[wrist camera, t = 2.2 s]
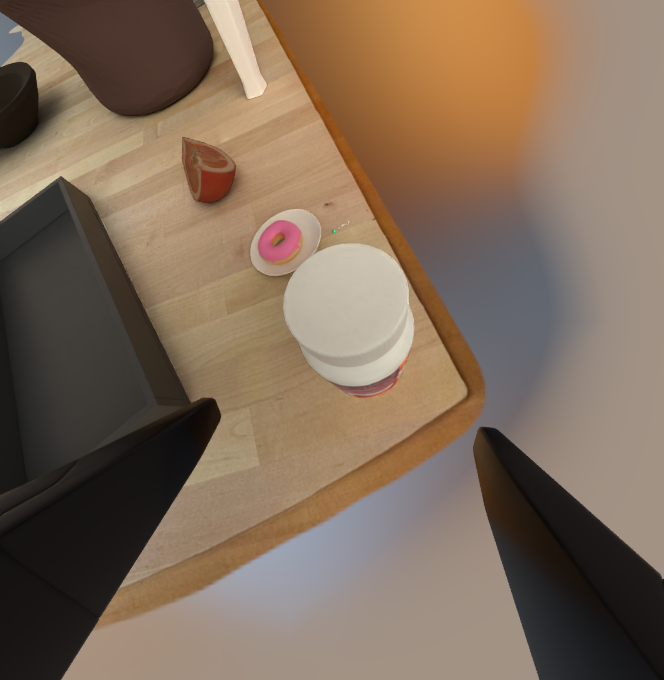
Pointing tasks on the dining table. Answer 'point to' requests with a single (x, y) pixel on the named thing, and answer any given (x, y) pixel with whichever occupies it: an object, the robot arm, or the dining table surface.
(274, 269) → the donut
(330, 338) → the pill bottle
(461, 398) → the dining table surface
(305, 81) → the dining table surface
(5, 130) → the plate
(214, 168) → the fruit slice
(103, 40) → the vase
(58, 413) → the tray
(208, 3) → the white faceted bottle
